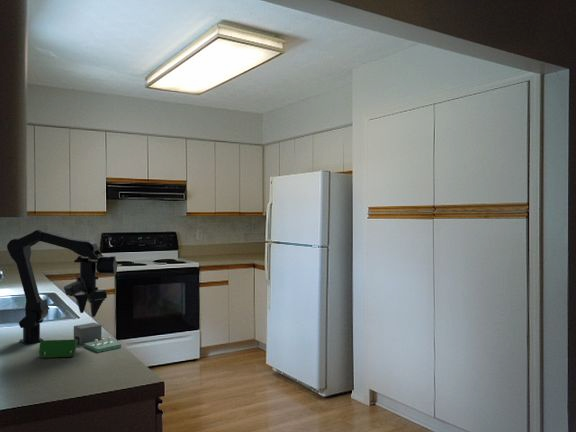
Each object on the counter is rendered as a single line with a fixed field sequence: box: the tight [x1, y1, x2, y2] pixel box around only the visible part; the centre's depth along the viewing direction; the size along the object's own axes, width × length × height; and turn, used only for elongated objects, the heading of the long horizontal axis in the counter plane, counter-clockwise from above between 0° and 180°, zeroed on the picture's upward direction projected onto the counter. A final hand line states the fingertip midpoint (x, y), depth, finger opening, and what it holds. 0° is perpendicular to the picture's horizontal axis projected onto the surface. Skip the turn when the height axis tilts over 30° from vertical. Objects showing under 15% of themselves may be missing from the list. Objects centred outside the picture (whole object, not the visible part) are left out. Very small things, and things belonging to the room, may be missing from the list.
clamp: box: [38, 338, 79, 359], centre depth 173 cm, size 12×6×9 cm, turn 95°
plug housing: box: [73, 322, 103, 346], centre depth 190 cm, size 6×8×6 cm
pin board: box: [83, 336, 122, 353], centre depth 183 cm, size 10×9×3 cm
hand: (87, 314), depth 190 cm, fingers open, 9 cm apart
